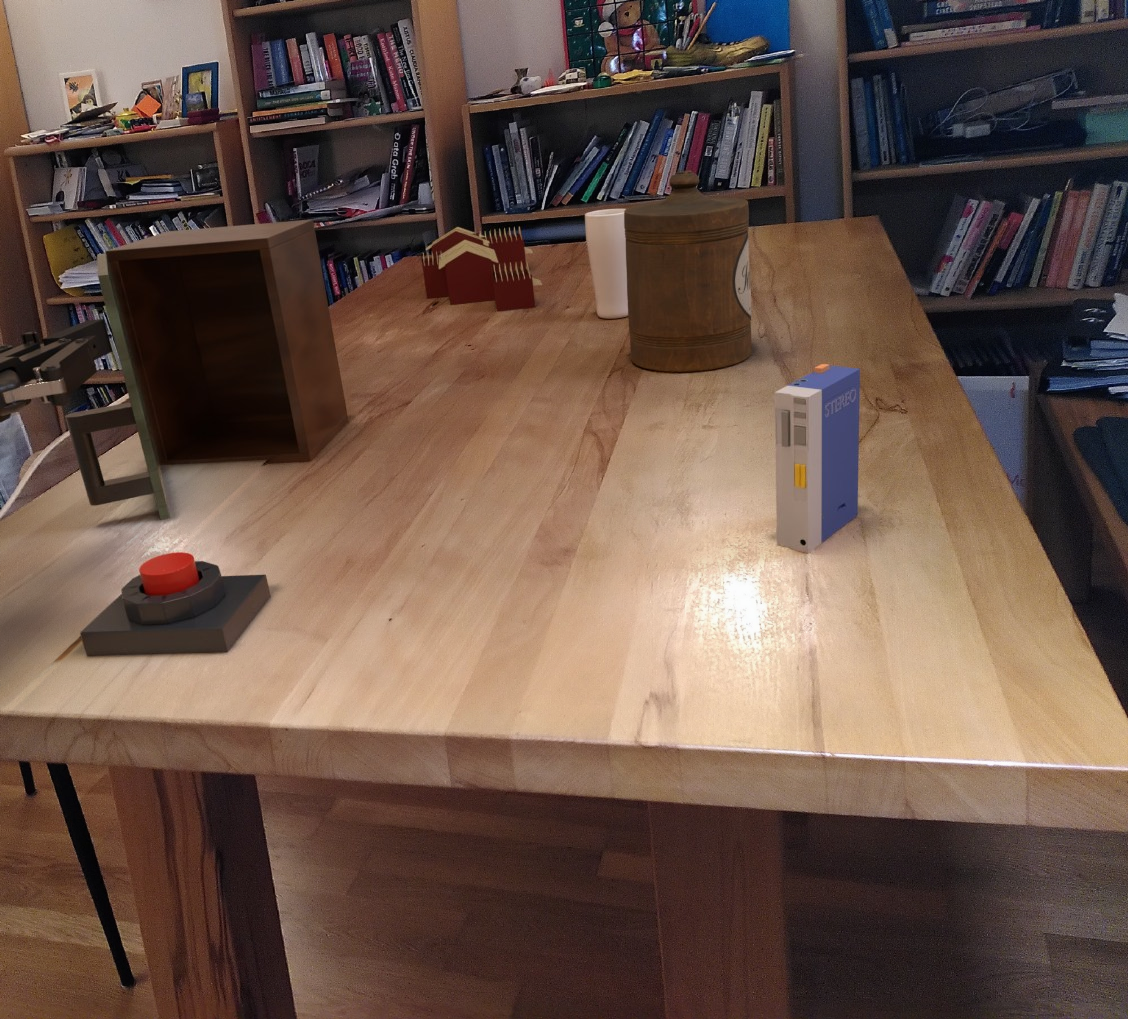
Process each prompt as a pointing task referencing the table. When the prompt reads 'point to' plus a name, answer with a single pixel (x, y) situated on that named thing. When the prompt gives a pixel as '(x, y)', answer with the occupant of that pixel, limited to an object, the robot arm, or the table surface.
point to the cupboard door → (117, 421)
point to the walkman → (816, 456)
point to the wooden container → (688, 280)
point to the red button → (169, 574)
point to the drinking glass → (608, 261)
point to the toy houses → (480, 269)
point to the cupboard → (232, 342)
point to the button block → (178, 616)
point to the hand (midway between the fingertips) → (99, 335)
